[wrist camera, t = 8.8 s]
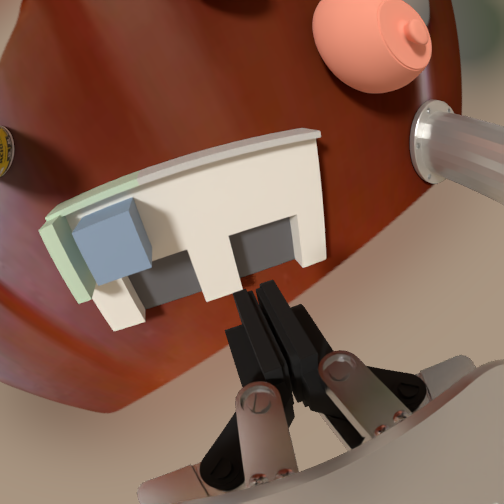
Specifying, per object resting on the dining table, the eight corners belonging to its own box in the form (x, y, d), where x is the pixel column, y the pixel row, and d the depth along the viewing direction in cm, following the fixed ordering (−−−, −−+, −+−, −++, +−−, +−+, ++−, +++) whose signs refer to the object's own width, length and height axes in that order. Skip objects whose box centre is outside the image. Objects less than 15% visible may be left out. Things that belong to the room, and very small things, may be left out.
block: (132, 197, 21) (128, 210, 18) (152, 247, 24) (151, 267, 21) (82, 217, 20) (71, 233, 17) (104, 264, 23) (98, 285, 20)
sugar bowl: (310, 94, 24) (380, 93, 15) (288, -22, 17) (344, -61, 8) (395, 94, 26) (462, 103, 18) (377, -4, 19) (440, -19, 10)
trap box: (302, 127, 25) (332, 133, 21) (315, 249, 33) (340, 272, 28) (57, 204, 21) (36, 226, 17) (115, 316, 29) (111, 351, 24)
